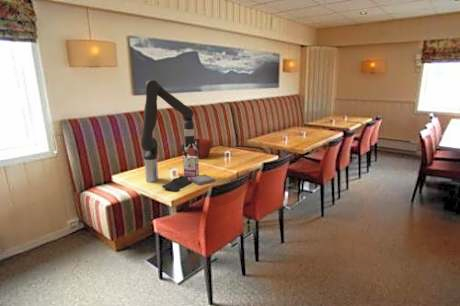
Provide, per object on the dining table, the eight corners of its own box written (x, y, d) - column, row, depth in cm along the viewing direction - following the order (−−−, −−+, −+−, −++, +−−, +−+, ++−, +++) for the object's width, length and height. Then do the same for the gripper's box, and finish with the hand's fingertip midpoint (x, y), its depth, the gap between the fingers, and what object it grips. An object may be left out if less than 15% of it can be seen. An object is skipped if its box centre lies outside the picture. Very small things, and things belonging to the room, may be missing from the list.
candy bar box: (199, 176, 231) (198, 156, 227) (196, 178, 227) (195, 157, 223) (187, 175, 236) (186, 155, 232) (183, 176, 231) (182, 156, 227)
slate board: (189, 180, 222) (189, 177, 222) (205, 176, 230) (205, 174, 230) (198, 185, 211) (198, 182, 211) (214, 181, 219) (214, 178, 219)
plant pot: (199, 154, 306) (198, 138, 302) (213, 156, 294) (212, 140, 290) (185, 157, 291) (184, 141, 287) (199, 160, 279) (198, 143, 276)
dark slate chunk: (158, 189, 207) (158, 182, 206) (177, 179, 226) (177, 174, 225) (176, 192, 200) (175, 185, 199) (194, 182, 219) (194, 176, 218)
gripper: (195, 133, 230) (196, 153, 234) (178, 135, 222) (180, 156, 226) (200, 134, 224) (201, 155, 228) (183, 136, 216) (184, 158, 220)
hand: (190, 155), depth 227 cm, fingers open, 8 cm apart
